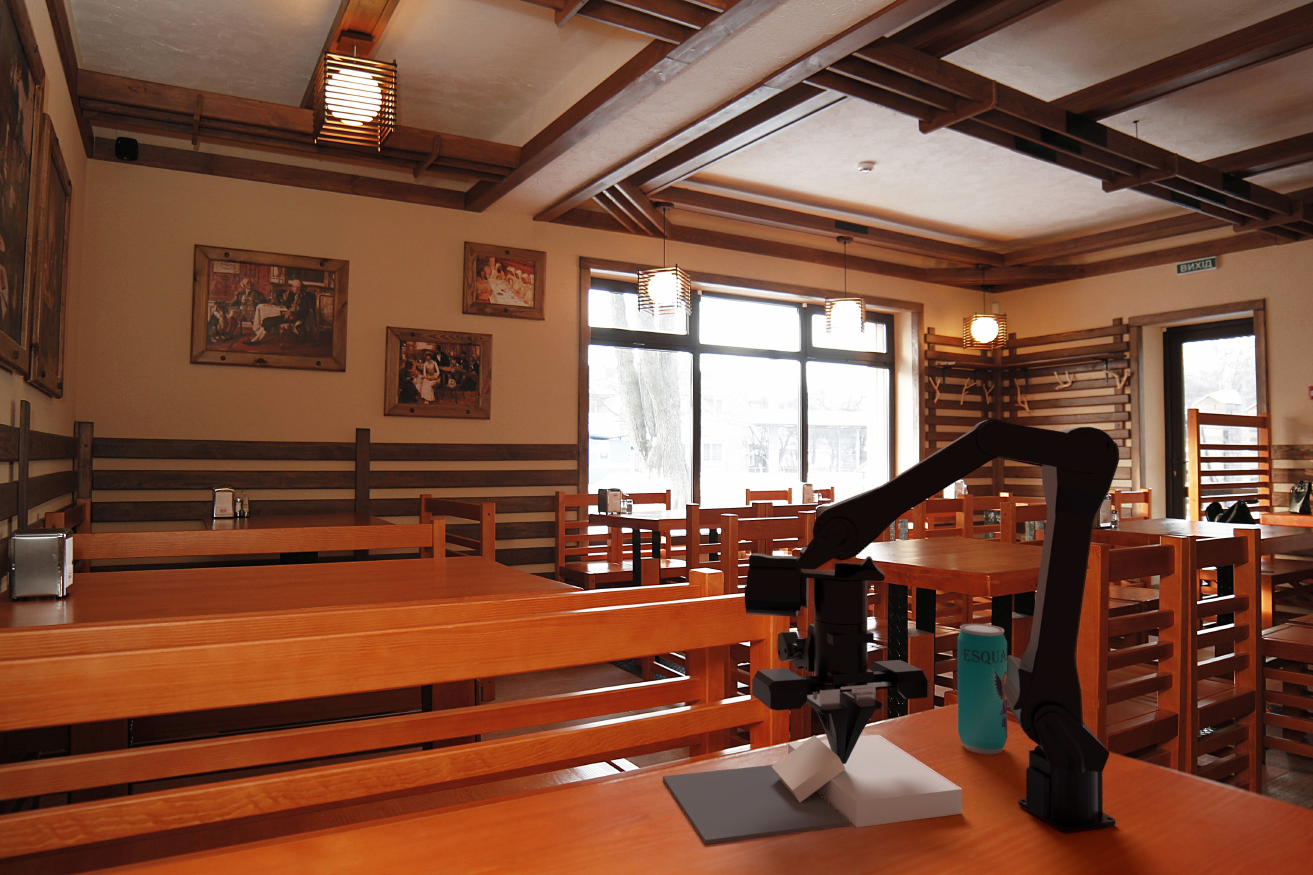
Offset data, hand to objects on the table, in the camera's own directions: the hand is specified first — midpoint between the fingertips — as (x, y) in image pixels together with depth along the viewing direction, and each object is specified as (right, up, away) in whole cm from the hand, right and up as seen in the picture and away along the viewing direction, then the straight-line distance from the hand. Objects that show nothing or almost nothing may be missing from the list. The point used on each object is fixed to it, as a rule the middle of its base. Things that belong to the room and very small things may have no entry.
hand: (840, 762), depth 85 cm
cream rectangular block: (-3, -1, 0) cm, 3 cm away
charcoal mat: (-10, -3, -3) cm, 11 cm away
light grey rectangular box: (+3, -3, +1) cm, 5 cm away
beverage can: (+21, -4, +13) cm, 25 cm away
